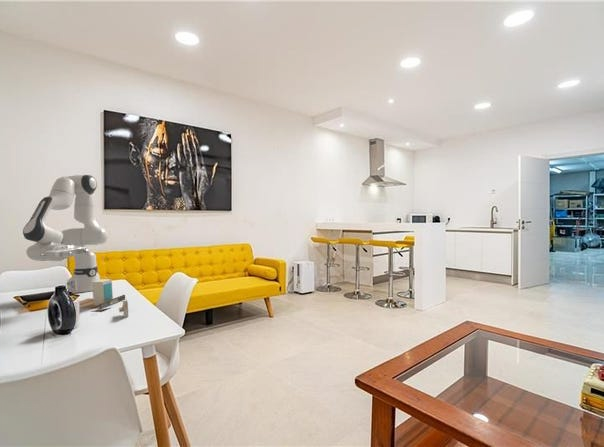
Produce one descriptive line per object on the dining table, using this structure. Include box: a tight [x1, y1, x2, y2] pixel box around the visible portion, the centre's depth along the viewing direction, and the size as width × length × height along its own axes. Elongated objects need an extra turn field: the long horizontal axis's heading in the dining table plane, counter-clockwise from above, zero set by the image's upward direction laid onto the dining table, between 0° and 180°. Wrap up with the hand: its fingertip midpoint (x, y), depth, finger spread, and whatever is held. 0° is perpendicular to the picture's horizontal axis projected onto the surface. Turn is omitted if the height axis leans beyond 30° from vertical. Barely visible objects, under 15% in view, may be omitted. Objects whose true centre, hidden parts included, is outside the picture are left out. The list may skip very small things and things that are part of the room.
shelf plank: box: [78, 294, 126, 313], centre depth 163 cm, size 23×16×4 cm
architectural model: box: [118, 298, 129, 319], centre depth 146 cm, size 3×7×7 cm, turn 33°
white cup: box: [72, 301, 80, 330], centre depth 133 cm, size 8×8×10 cm
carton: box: [92, 278, 114, 305], centre depth 161 cm, size 6×6×12 cm
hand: (79, 252), depth 162 cm, fingers open, 8 cm apart
